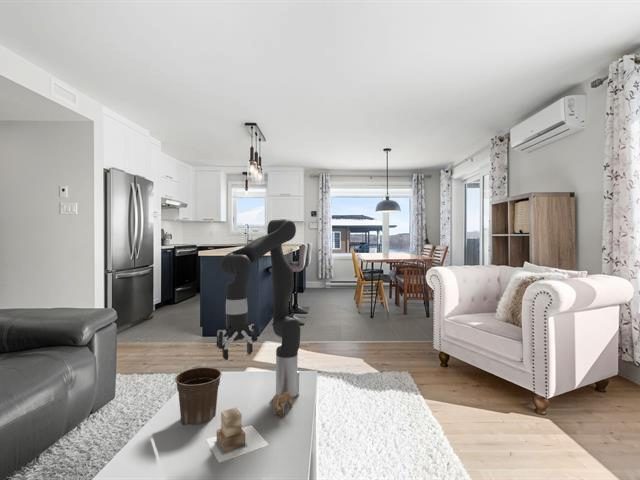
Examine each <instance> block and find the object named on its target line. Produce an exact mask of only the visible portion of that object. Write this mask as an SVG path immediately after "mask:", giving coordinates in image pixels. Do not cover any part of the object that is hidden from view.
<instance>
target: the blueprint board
mask: <svg viewBox="0 0 640 480" xmlns="http://www.w3.org/2000/svg"><path fill="white" fill-rule="evenodd" d="M242 430H243V431H244V432H245V446H243V447H240V448H237V449H234V450H231V451H228V452H226V453H223V451H222V450H221V448H220V447H219V445H218V443H217V435H216V436H212V437H209V438H205V442H206V443H207V444H208V446H209V448H210V449H211V451H212V453H213V454H214V457H215V459H216V460H217V461H218V463H220V464H221V463H222V462H225V461H228V460H231V459H233V458H236V457H239V456H242V455H245V454H247V453H251V452H253V451H256V450H259V449H261V448H264V447H267V446H270V445H269V443H268V442H267V441H266V440H265V439H264V438H263V436H262V435H261V434H260V433H259V432H258V431H257V430H256V429H255V427H254V426H253V425H248V426H244V427H242Z"/></svg>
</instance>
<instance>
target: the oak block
mask: <svg viewBox="0 0 640 480" xmlns="http://www.w3.org/2000/svg"><path fill="white" fill-rule="evenodd" d="M242 415H243V413H242V412H241V411H240V410H239V409H238V407H232V408H229V409H225V410H221V411H220V429H221V431H222V432H223V434H224V435H225V437H229V436H233V435H236V434H239V433H241V432H242V428H243V426H242V423H243V422H242V418H243V416H242Z"/></svg>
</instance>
